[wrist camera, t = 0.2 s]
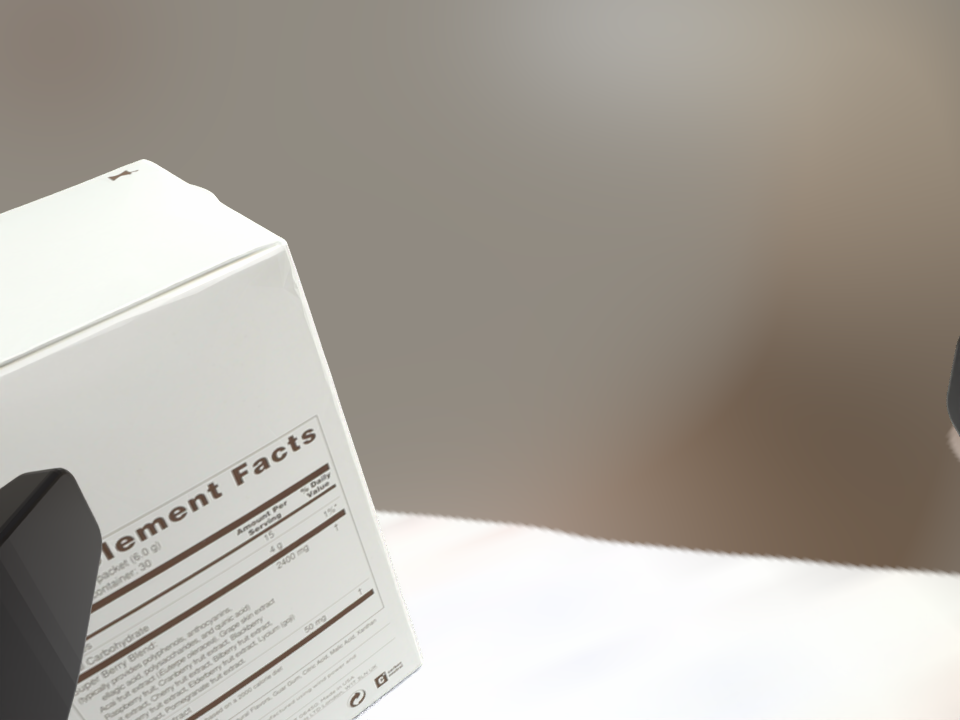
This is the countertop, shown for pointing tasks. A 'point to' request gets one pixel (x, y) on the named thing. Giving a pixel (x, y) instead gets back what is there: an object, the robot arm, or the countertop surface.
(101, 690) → the supplement box
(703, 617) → the countertop surface
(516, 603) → the countertop surface
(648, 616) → the countertop surface
